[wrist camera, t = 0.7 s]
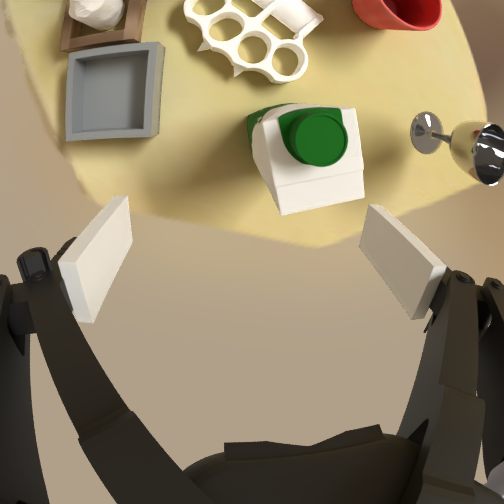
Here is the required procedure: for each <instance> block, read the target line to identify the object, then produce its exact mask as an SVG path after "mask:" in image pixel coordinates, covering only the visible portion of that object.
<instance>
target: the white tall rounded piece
mask: <svg viewBox="0 0 504 504" xmlns="http://www.w3.org/2000/svg"><path fill="white" fill-rule="evenodd" d="M124 11H125V3H124V2H123V0H70V8H69V15H70V16H71V17H72V18H74V19H75V20H77V21H80V22H82V23H84V24H86V25H89V26H91V27H93V28H95V29H97V30H109V29H111V28H113V27H115V26H116V25H117V24H118V23H119V21H120V20H121V18H122V16H123V14H124Z"/></svg>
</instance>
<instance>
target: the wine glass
mask: <svg viewBox="0 0 504 504" xmlns="http://www.w3.org/2000/svg"><path fill="white" fill-rule="evenodd" d="M411 139H412V142H413V144H414V146H415V148H416V149H417V150H418V151H419V152H421V153H423V154H431V153H434V152H435V151H436V150H437V149H438V148H439V147H440V145H441V143H442V140H443V141H444V142H446V143H448V145H449V148H450V153H451V155H452V158H453V160H454V162H455V163H456V164H457V165H458V167H459V168H461V169H462V170H463V171H464V172H465V173H466V174H468V175H469V176H470V177H472V178H474V179H476V180H477V181H479V182H481V183H483V184H485V185H494V184H496V183H498V182H499V181H500V180H501V179H502V178H503V176H504V130H503V129H502V128H501V127H500V126H498V125H496V124H493V123H490V122H485V121H475V120H473V121H465V122H462V123H460V124H459V125H457V126H456V127H455V128H454V130H453V131H452V133H451V134H450V135H443V127H442V124H441V121H440V120H439V118H438V117H437V116H436V115H435V114H433V113H431V112H422V113H420V114H418V115H417V116H416V117H415V119H414V120H413V123H412V126H411Z"/></svg>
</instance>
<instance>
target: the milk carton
mask: <svg viewBox="0 0 504 504" xmlns="http://www.w3.org/2000/svg"><path fill="white" fill-rule="evenodd" d="M248 135H249V141H250V147H251V152H252V156H253V159H254V162H255V164H256V166H257V168H258V170H259V172H260V174H261V177H262V179H263V180H264V181H265V182H266V184H267V186H268V188H269V191H270V193H271V195H272V197H273V199H274V201H275V203H276V205H277V208H278V210H279V212H280V215H281V216H283V215H288V214H292V213H296V212H301V211H305V210H310V209H315V208H319V207H324V206H328V205H333V204H338V203H343V202H347V201H352V200H357V199H362V198H364V183H363V171H362V170H364V165H363V157H362V152H361V144H360V136H359V129H358V123H357V116H356V110H355V109H354V108H351V107H339V106H326V105H312V104H298V103H288V104H280V105H276V106H272V107H267V108H264V109H262V110H260V111H257V112H255V113H253V114H251V115H248Z"/></svg>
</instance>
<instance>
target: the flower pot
mask: <svg viewBox="0 0 504 504" xmlns="http://www.w3.org/2000/svg"><path fill="white" fill-rule="evenodd" d="M352 6H353V9H354V11H355V12H356V14H357V15H358V17H359V18H360V19H361V20H362V21H364V22H365V23H366V24H368V25H370V26H372V27H374V28H378V29H389V30H411V31H426V30H429V29H432V28H434V27H435V26H436V25H437V24H438V22H439V21H440V18H441V14H442V4H441V0H352Z"/></svg>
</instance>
